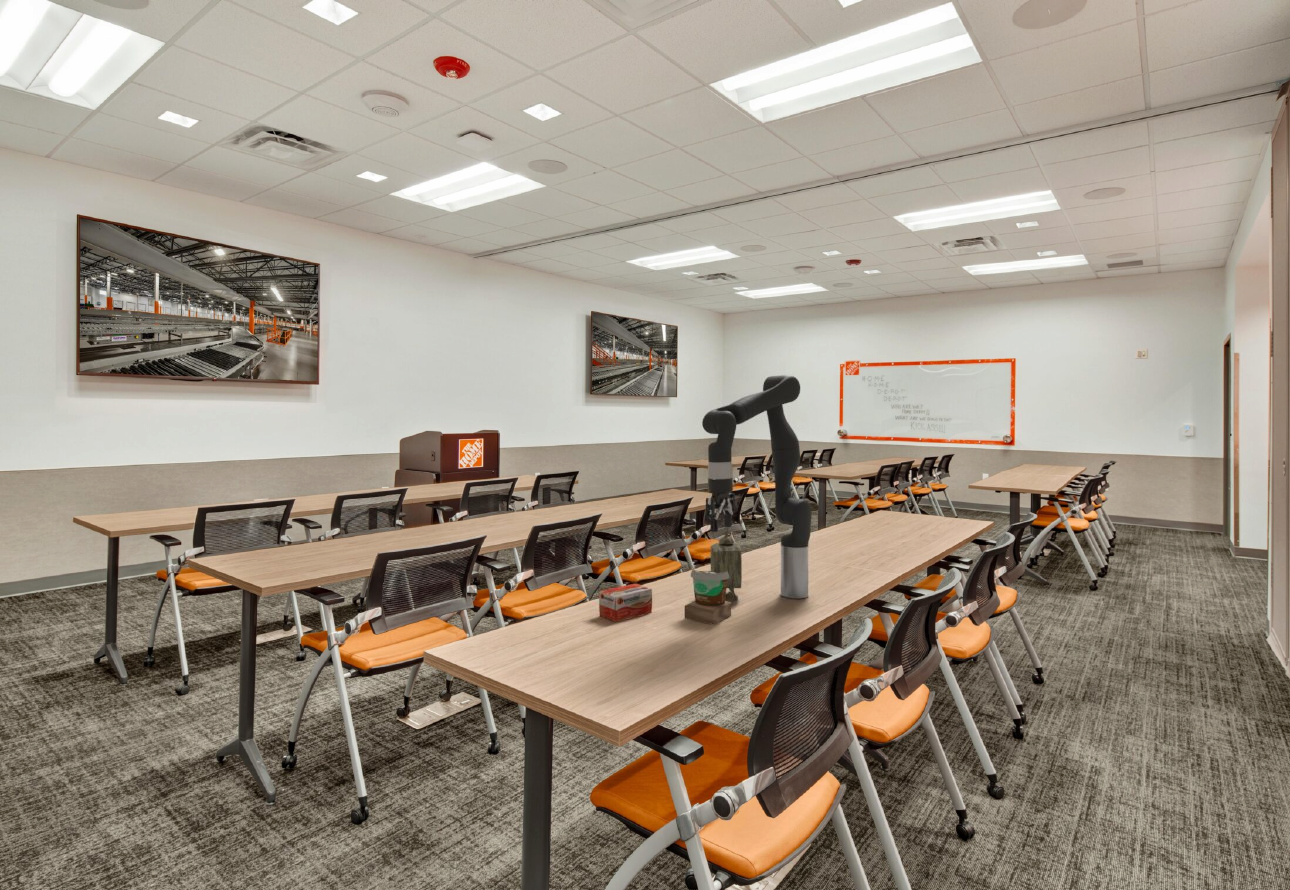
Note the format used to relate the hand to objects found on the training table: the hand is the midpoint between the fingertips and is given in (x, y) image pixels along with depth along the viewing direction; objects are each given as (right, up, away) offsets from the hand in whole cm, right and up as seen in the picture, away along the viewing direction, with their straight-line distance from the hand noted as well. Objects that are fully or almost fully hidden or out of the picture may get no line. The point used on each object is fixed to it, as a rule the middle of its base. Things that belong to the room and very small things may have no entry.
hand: (721, 529), depth 199 cm
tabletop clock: (+4, -26, +23) cm, 35 cm away
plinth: (-4, -27, 0) cm, 27 cm away
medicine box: (-29, -27, +3) cm, 40 cm away
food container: (-5, -23, -2) cm, 23 cm away
